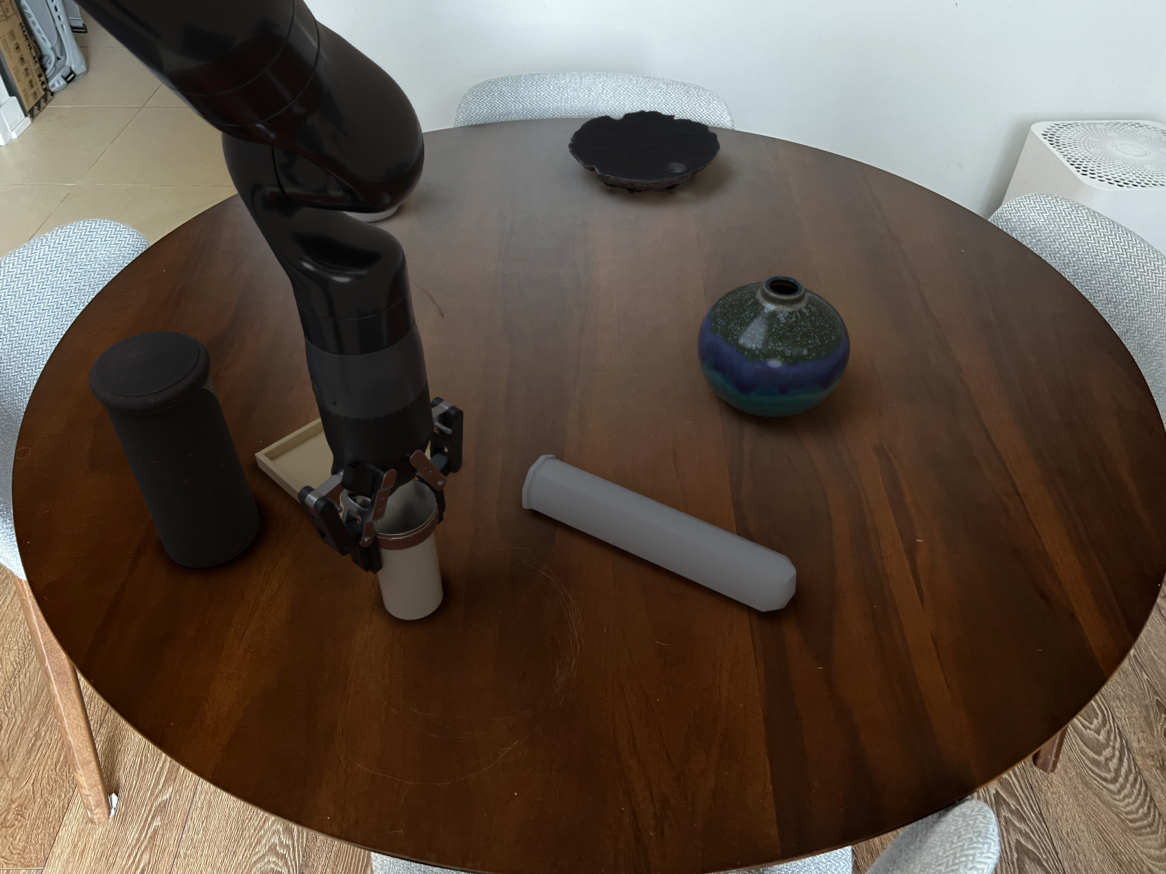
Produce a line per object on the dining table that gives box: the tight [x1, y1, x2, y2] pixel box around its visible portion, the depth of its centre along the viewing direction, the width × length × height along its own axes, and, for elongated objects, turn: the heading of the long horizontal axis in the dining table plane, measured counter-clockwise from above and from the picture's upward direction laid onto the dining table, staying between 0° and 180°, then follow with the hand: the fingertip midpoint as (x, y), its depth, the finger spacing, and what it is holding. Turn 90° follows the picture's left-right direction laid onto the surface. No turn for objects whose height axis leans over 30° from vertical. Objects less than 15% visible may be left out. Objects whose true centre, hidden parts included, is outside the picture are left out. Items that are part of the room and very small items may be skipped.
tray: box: [254, 417, 447, 522], centre depth 88 cm, size 13×13×2 cm
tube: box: [521, 454, 797, 613], centre depth 79 cm, size 5×5×25 cm
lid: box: [358, 479, 439, 551], centre depth 70 cm, size 6×6×2 cm
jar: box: [376, 530, 444, 621], centre depth 73 cm, size 5×5×10 cm
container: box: [88, 330, 261, 569], centre depth 75 cm, size 9×9×20 cm
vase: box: [696, 275, 851, 418], centre depth 93 cm, size 15×15×13 cm
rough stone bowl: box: [567, 109, 721, 195], centre depth 132 cm, size 22×22×5 cm
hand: (402, 541), depth 72 cm, fingers closed on lid, 6 cm apart
